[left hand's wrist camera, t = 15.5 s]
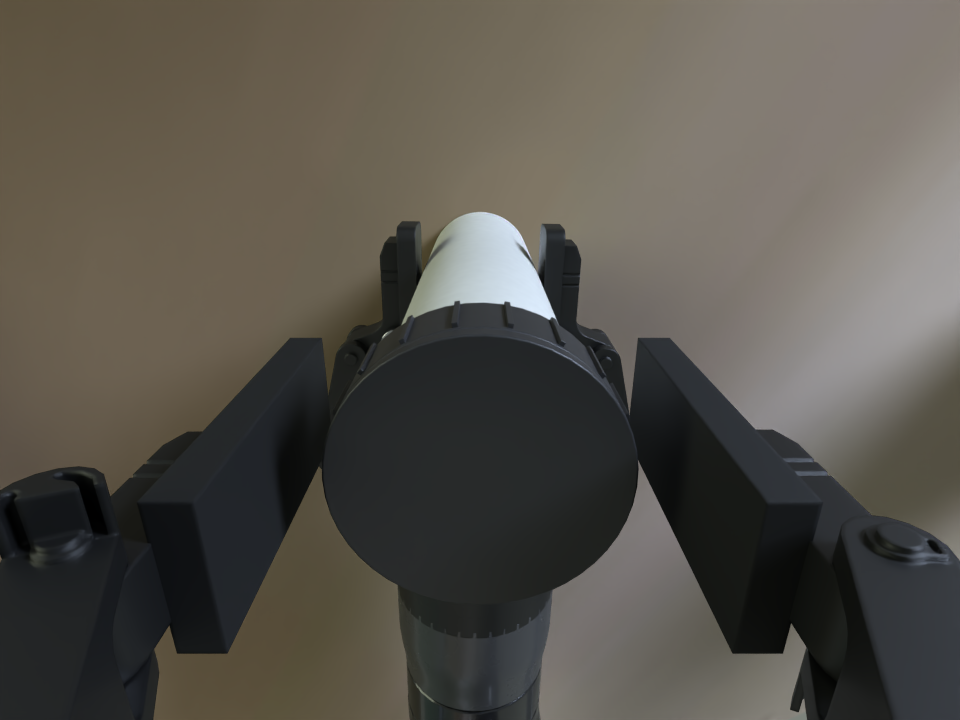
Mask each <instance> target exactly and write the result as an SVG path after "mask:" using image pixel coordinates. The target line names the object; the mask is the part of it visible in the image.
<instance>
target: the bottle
mask: <svg viewBox="0 0 960 720" xmlns="http://www.w3.org/2000/svg"><path fill="white" fill-rule="evenodd" d="M455 301H460V304H463V303H495V304H504V302H505V301H506V302H510V305H511V306H514V307H518V308H523V309H525V310H528V311H531V312H534V313H536V314H539V315H541V316H543V317H545V318H547V319H549V320H550V319H551V317H553V318H555V319H556V317H555V315H554V312H553V310H552V308H551V305H550V303H549V300H548V298H547V296H546V293H545V291H544V288H543V286H542V284H541V281H540V279H539V276H538V274H537V272H536V269H535V267H534V264H533V262H532V260H531V257H530V255H529V252H528V250H527V248H526V245H525V243H524V241H523V238H522V236H521V235H520V233H519V232H518V230H517V229H516V228H515V227H514V226H513V225H512V224H511V223H510V222H508V221H507V220H505V219H504V218H502V217H500V216H498V215H495V214H491V213H486V212H475V213H469V214H465V215H463V216H460V217H458V218H456V219H454V220H453V221H452V222H450V223H449V224H448V225H447V226H446V227H445V228H444V229H443V230H442V232H441V233H440V235H439V236H438V238H437V240H436V243H435V245H434V248H433V250H432V252H431V255H430V257H429V260H428V262H427V264H426V267H425V269H424V272H423V274H422V276H421V279H420V281H419V284H418V286H417V289H416V291H415V293H414V296H413V298H412V301H411V303H410V305H409V308H408V310H407V313H406V315H405V317H404V320H403V322H402V324H404V323H406V320H407V318H408V317H409V316H411V315H413V317H414V318H415V317H417V316H419V315H422V314H424V313H426V312H429V311H432V310H435V309H439V308H442V307H445V306H451V305H454V302H455ZM556 320H557V319H556ZM557 323H558V322H557ZM558 325H559V324H558Z"/></svg>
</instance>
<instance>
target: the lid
mask: <svg viewBox="0 0 960 720" xmlns="http://www.w3.org/2000/svg"><path fill="white" fill-rule="evenodd" d="M331 414H332V415H335V416H334V418H333V420H332V422H331V425H330V427H329V430H328V434H327V437H326V440H325V443H324V450H323V457H322V481H323V487H324V493H325V498H326V501H327V504H328V507H329V511H330V514H331V516H332V518H333V520H334V522H335V524H336V526H337V528H338V530H339V531H340V533H341V534H342V536H343V537H344V539H345V540H346V542H347V543H348V545H349V546H350V547H351V548H352V549H353V550H354V551H355V553H356V554H357V555H358V556H359V557H360V558H361V559H362V560H363V561H364V562H365V563H367V564H368V565H369V566H370V567H371V568H372V569H373V570H375V571H376V572H378V573H379V574H381V575H382V576H384V577H385V578H386V579H388V580H390V581H392V582H393V583H395V584H397V585H399V586H401V587H403V588H405V589H407V590H410V591H412V592H415V593H417V594H420V595H423V596H426V597H430V598H433V599H437V600H441V601H446V602H452V603H458V604H472V605H486V604H500V603H508V602H515V601H519V600H523V599H527V598H531V597H534V596H537V595H540V594H543V593H546V592H549V591H551V590H553V589H555V588H557V587H559V586H561V585H563V584H565V583H567V582H569V581H570V580H572V579H573V578H575V577H577V576H578V575H580V574H581V573H583V572H584V571H585V570H586V569H588V568H589V567H590V566H591V565H593V564H594V563H595V562H596V561H597V560H598V559H599V558H600V557H601V556H602V555H603V554H604V553H605V552H606V551H607V550H608V548H609V547H610V546H611V544H612V543H613V542H614V540H615V539H616V538H617V537H618V535H619V533H620V531H621V530H622V528H623V526H624V524H625V523H626V521H627V518H628V516H629V513H630V511H631V508H632V506H633V502H634V498H635V494H636V489H637V482H638V456H637V448H636V444H635V440H634V436H633V432H632V430H631V427H630V425H629V422H628V420H627V419H629V418H630V415H629V413H628V411H627V409H626V407H625V405H624V404H623V402H622V400H621V398H620V396H619V394H618V392H617V391H616V389H615V387H614V385H613V383H610V384H609V383H608V381H607V379H606V374H605V372H604V371H603V369H602V367H601V365H600V363H599V361H598V359H597V357H596V355H595V353H594V352H593V350H592V348H591V347H590V346H588V347H585V346H584V345H583V344H582V343H581V342H580V341H579V340H578V339H576V338H575V337H574V336H573V335H572V334H571V333H570V332H568V331H567V330H565V329H564V328H562V327H561V326H560V325H558V323H557V320H556V319H555V318H553V317H551V319H550V320H549V319H547V318H545V317H543V316H541V315H539V314H536V313H534V312H531V311H528V310H525V309H523V308H518V307H514V306H511V305H510V302H506V301H505V302H504V304H495V303H463V304H460V301H455V302H454V305H451V306H445V307H442V308H439V309H435V310H432V311H429V312H426V313H424V314H422V315H419V316H417V317H415V318H414V317H413V315H411V316H409V317H408V318H407V320H406V323H404V324H402V325H401V326H399V327H397V328H396V329H394V330H393V331H392V332H391V333H390V334H388V335H387V336H386V337H385V338H383V339H382V340H381V341H380V342H379V343H378V344H377V345H376V344H375V343H373V344H372V345H371V346H370V348H369V350H368V352H367V354H366V356H365V358H364V360H363V362H362V363H361V365H360V367H359V369H358V371H357V373H356V375H355V377H354V379H353V381H352V380H350V379H349V381H348V382H347V384H346V386H345V388H344V390H343V392H342V394H341V395H340V397H339V399H338V401H337V403H336V405H335V407H334V408H333V411H332V413H331Z"/></svg>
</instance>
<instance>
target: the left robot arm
mask: <svg viewBox="0 0 960 720" xmlns="http://www.w3.org/2000/svg"><path fill="white" fill-rule="evenodd" d="M330 425H331V417H330V408H329V399H328V390H327V381H326V372H325V362H324V353H323V344H322V338H290V339H289V340H288V341H287V342H286V343H285V344H284V345H283V346H282V347H281V349H280V350H279V351H278V352H277V353H276V354H275V355H274V356H273V357H272V358H271V359H270V360H269V361H268V362H267V364H266V365H265V366H264V367H263V368H262V369H261V370H260V371H259V372H258V373H257V374H256V375H255V376H254V377H253V378H252V380H251V381H250V382H249V383H248V384H247V385H246V386H245V387H244V388H243V389H242V390H241V391H240V392H239V393H238V394H237V396H236V397H235V398H234V399H233V400H232V401H231V402H230V403H229V404H228V405H227V406H226V407H225V408H224V409H223V411H222V412H221V413H220V414H219V415H218V416H217V417H216V418H215V419H214V420H213V421H212V422H211V423H210V424H209V425H208V427H207V428H206V429H205V430H204V431H203V432H186V433H184V434H182V435H181V436H179V437H177V438H175V439H173V440H172V441H170V442H168V443H166V444H164V445H163V446H162V447H161V448H160V449H159V450H158V451H157V452H156V453H155V454H154V455H153V456H152V457H151V458H150V459H149V460H147V464H143V465H142V466H141V467H140V468H139V469H138V470H137V471H136V472H135V473H134V474H133V478H129V479H128V480H127V481H126V482H125V483H124V484H123V485H122V486H121V487H120V488H119V489H118V490H117V491H116V492H115V493H114V494H113V495H112V496H111V497H110V494H109V491H108V487H107V484H106V480H105V477H104V474H103V473H101V472H99V471H98V470H96V469H95V468H87V467H68V468H58V469H54V470H50V471H46V472H42V473H38V474H34V475H32V476H29V477H27V478H24V479H22V480H19V481H17V482H14V483H12V484H10V485H9V486H7V487H5V488H4V489H2V490H0V555H1V558H2V560H1V562H0V720H153V717H154V709H155V701H156V694H157V686H158V678H159V668H158V662H157V658H156V654H155V651H154V648H155V647H156V645H157V644H158V642H159V640H160V639H161V637H162V636H163V634H164V633H165V631H166V629H167V628H168V626H169V625H170V629H171V633H172V636H173V640H174V644H175V647H176V651H177V654H227V653H228V651H229V649H230V647H231V645H232V643H233V641H234V639H235V637H236V635H237V633H238V631H239V629H240V627H241V625H242V622H243V620H244V618H245V616H246V614H247V612H248V610H249V608H250V606H251V604H252V602H253V600H254V598H255V596H256V594H257V592H258V590H259V588H260V586H261V584H262V581H263V579H264V577H265V575H266V573H267V571H268V569H269V567H270V565H271V563H272V561H273V559H274V557H275V555H276V553H277V551H278V549H279V547H280V545H281V542H282V540H283V538H284V536H285V534H286V532H287V530H288V528H289V526H290V524H291V522H292V520H293V518H294V516H295V514H296V512H297V510H298V508H299V506H300V504H301V501H302V499H303V497H304V495H305V493H306V491H307V489H308V487H309V485H310V483H311V481H312V479H313V477H314V475H315V473H316V471H317V469H318V467H319V465H320V463H321V460H322V457H323V450H324V443H325V440H326V437H327V434H328V430H329V427H330ZM629 425H630V427H631V430H632V432H633V436H634V440H635V444H636V448H637V456H638V460H639V463H640V465H641V467H642V469H643V471H644V473H645V475H646V477H647V479H648V481H649V483H650V485H651V487H652V489H653V491H654V493H655V495H656V497H657V499H658V501H659V504H660V506H661V508H662V510H663V512H664V514H665V516H666V518H667V520H668V522H669V524H670V526H671V528H672V530H673V532H674V534H675V536H676V538H677V540H678V543H679V545H680V547H681V549H682V551H683V553H684V555H685V557H686V559H687V561H688V563H689V565H690V567H691V569H692V571H693V573H694V575H695V577H696V579H697V581H698V584H699V586H700V588H701V590H702V592H703V594H704V596H705V598H706V600H707V602H708V604H709V606H710V608H711V610H712V612H713V614H714V616H715V618H716V620H717V622H718V625H719V627H720V629H721V631H722V633H723V635H724V637H725V639H726V641H727V643H728V645H729V647H730V649H731V651H732V653H733V654H783V651H784V647H785V644H786V640H787V636H788V633H789V629H790V625H791V623H792V625H793V626H794V628H795V630H796V631H797V633H798V634H799V636H800V637H801V639H802V641H803V642H804V644H805V645H806V647H807V648H806V651H805V654H804V658H803V661H802V665H801V668H800V672H799V675H798V679H797V682H796V686H795V689H794V693H793V696H792V702H791V708H790V710H793V711H796V712H799V709H800V706H801V703H802V700H803V699H804V700H805V707H806V715H807V720H960V561H959V559H958V558H957V557H956V556H955V554H954V553H953V552H952V551H951V550H950V548H949V547H948V546H947V545H946V544H944V543H943V542H941V541H940V540H938V539H937V538H935V537H934V536H933V535H931V534H930V533H928V532H926V531H923V530H921V529H919V528H917V527H915V526H913V525H910V524H908V523H905V522H902V521H898V520H895V519H891V518H888V517H881V516H872V515H871V514H870V513H869V512H868V511H867V510H866V509H865V508H864V507H863V506H862V505H860V504H859V503H858V502H857V501H856V500H855V499H854V498H853V497H852V496H851V495H850V494H849V493H848V492H847V491H846V490H845V489H844V488H843V487H842V486H841V485H840V484H839V483H838V482H837V481H836V480H835V479H834V478H833V477H832V476H828V475H827V472H826V471H825V470H824V469H823V468H822V467H821V466H820V465H819V464H818V463H817V462H814V459H813V458H812V457H811V456H810V455H809V454H808V453H807V452H806V451H805V450H804V449H803V448H802V447H801V446H800V445H799V444H798V443H796V442H794V441H792V440H790V439H789V438H787V437H785V436H783V435H781V434H780V433H778V432H776V431H774V430H755V429H754V428H753V427H752V425H751V424H750V423H749V422H748V421H747V420H746V419H745V418H744V417H743V416H742V415H741V414H740V413H739V412H738V411H737V409H736V408H735V407H734V406H733V405H732V404H731V403H730V402H729V401H728V400H727V399H726V398H725V397H724V396H723V394H722V393H721V392H720V391H719V390H718V389H717V388H716V387H715V386H714V385H713V384H712V383H711V382H710V381H709V380H708V378H707V377H706V376H705V375H704V374H703V373H702V372H701V371H700V370H699V369H698V368H697V367H696V366H695V365H694V364H693V362H692V361H691V360H690V359H689V358H688V357H687V356H686V355H685V354H684V353H683V352H682V351H681V350H680V349H679V347H678V346H677V345H676V344H675V343H674V342H673V341H672V340H671V339H670V338H638V344H637V353H636V362H635V372H634V381H633V390H632V399H631V408H630V418H629Z"/></svg>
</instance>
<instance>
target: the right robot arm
mask: <svg viewBox="0 0 960 720" xmlns="http://www.w3.org/2000/svg"><path fill="white" fill-rule="evenodd" d="M580 267H581V258H580V254H579V251H578V248H577V246H576V245H575V243H574V242H573V241H572V240H566V239H565V230H564V228H563V227H562V226H561V225H560V224H542V225H541V232H540V250H539V268H538V276H539V279H540V281H541V284H542V286H543V288H544V291H545V293H546V296H547V298H548V300H549V303H550V305H551V308H552V310H553V312H554V315H555V317H556V319H557V322H558V324H559V325H560V326H561V327H562V328H564V329H565V330H567V331H568V332H570V333H571V334H572V335H573V336H574V337H575V338H576V339H578V340H579V341H580V342H581V343H582V344H583V345H584V346H585V347H588V346H590V347H591V348H592V350H593V352H594V353H595V355H596V357H597V359H598V361H599V363H600V365H601V367H602V369H603V371H604V372H605V374H606V379H607V381H608V383H609V384H610V383H613V385H614V387H615V389H616V391H617V392H618V394H619V396H620V398H621V400H622V402H623V404H624V405H625V407H626V409H627V411H628V413H629V410H628V403H627V397H626V391H625V384H624V378H623V372H622V365H621V359H620V356H619V354H618V353H617V351H616V350H615V348H614V347H613V345H612V343H611V342H610V340H609V339H608V337H607V335H606V334H605V333H604V332H603V331H601V330H599V329H588V328H586V327H583V326H581V325H579V324H577V323H576V316H577V304H578V292H579V279H580ZM380 269H381V288H382V307H383V320H381V321H380V322H378V323H375V324H372V325H369V326H365V325H359V326H356V327H354V328H353V329H352V330H351V332H350V333H349V335H348V337H347V340H346V341H345V343H344V344H342V345H341V347H340V348H339V350H338V351H337V354H336V358H335V364H334V369H333V374H332V380H331V385H330V390H329V396H328V399H329V408H330V417H331V422H332V420H333V418H334V416H335V415H332V414H331V413H332V411H333V408H334V407H335V405H336V403H337V401H338V399H339V397H340V395H341V394H342V392H343V390H344V388H345V386H346V384H347V382H348V381H349V379H350V380H352V381H353V379H354V377H355V375H356V373H357V371H358V369H359V367H360V365H361V363H362V362H363V360H364V358H365V356H366V354H367V352H368V350H369V348H370V346H371V345H372V344H373V343H375V344H376V345H377V344H378V343H379V342H380V341H381V340H382V339H383V338H385V337H386V336H387V335H388V334H390V333H391V332H392V331H393V330H394V329H396V328H397V327H399V326H401V325H402V322H403V320H404V317H405V315H406V313H407V310H408V308H409V305H410V303H411V301H412V298H413V296H414V293H415V291H416V289H417V286H418V284H419V281H420V279H421V276H422V248H421V224H420V222H414V221H402V222H401V223H400V224H399V225H398V227H397V234H396V237H389V238H388V239H387V241H386V242H385V243H384V246H383V249H382V251H381V254H380ZM627 420H628V422H629V419H627ZM319 467H320V468H321V469H322V460H321V463H320V465H319ZM398 601H399V619H400V629H401V634H402V639H403V644H404V648H405V652H406V659H407V680H408V703H409V717H410V720H541V719H540V713H539V693H540V679H541V666H542V656H543V652H544V648H545V645H546V641H547V636H548V631H549V625H550V614H551V602H552V590H551V591H549V592H546V593H543V594H540V595H537V596H534V597H531V598H527V599H523V600H519V601H515V602H508V603H500V604H486V605H472V604H458V603H452V602H446V601H441V600H437V599H433V598H430V597H426V596H423V595H420V594H417V593H415V592H412V591H410V590H407V589H405V588H403V587H401V586H399V585H398Z"/></svg>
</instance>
